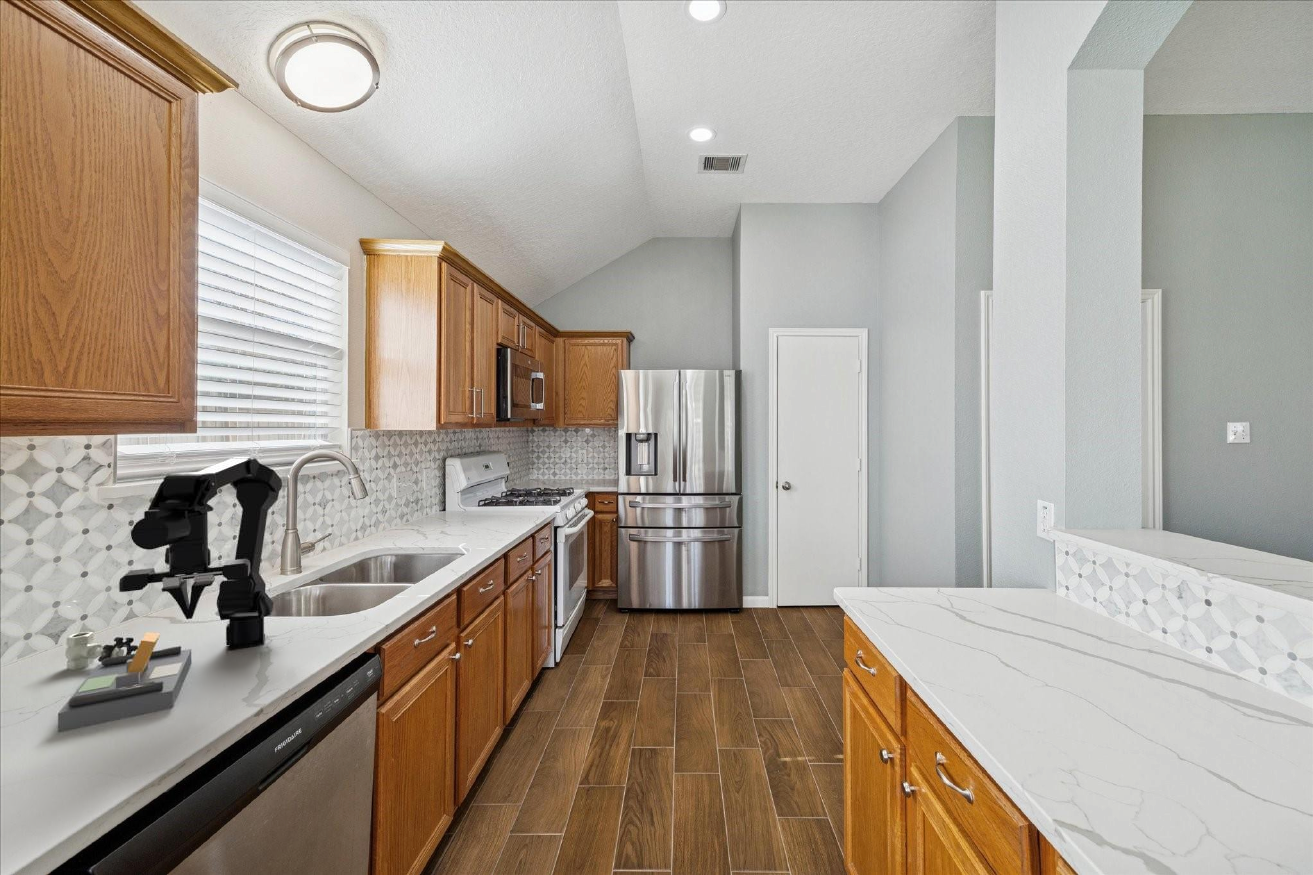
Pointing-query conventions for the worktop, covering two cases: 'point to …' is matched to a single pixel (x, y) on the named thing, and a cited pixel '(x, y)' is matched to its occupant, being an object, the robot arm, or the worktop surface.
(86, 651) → the valve
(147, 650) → the lever
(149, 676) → the panel
